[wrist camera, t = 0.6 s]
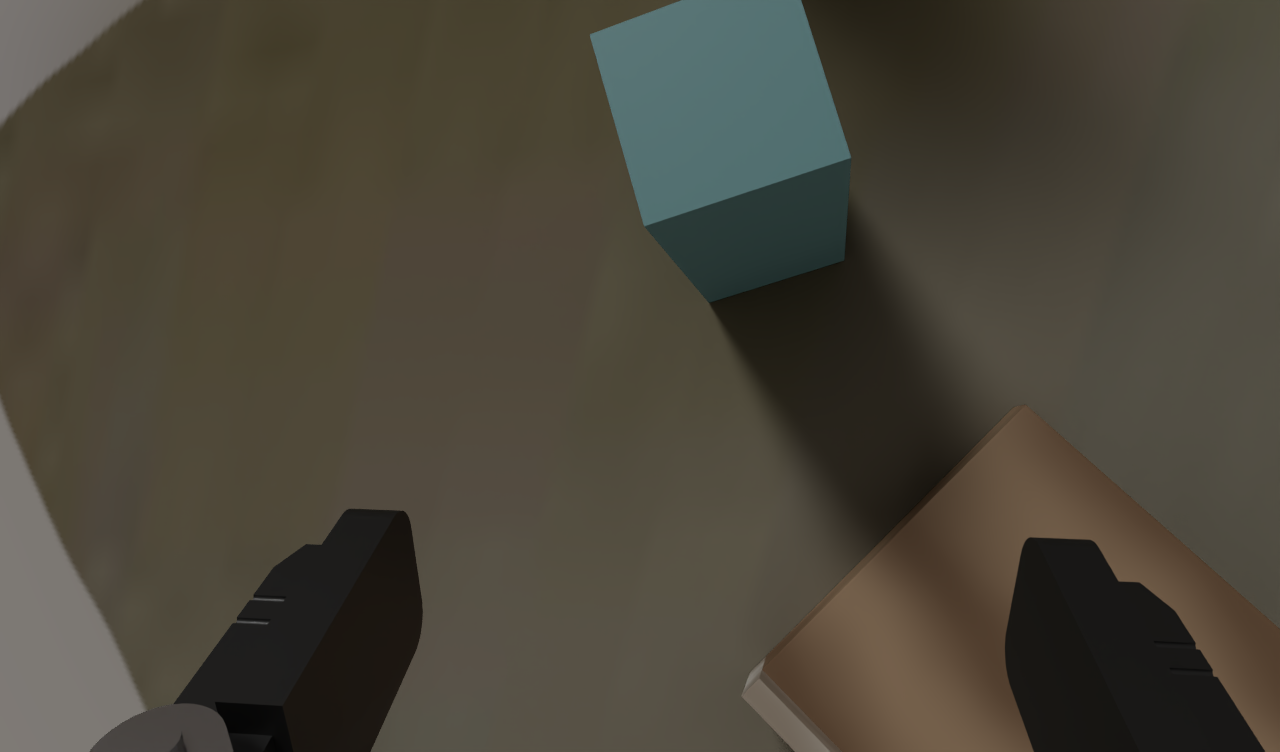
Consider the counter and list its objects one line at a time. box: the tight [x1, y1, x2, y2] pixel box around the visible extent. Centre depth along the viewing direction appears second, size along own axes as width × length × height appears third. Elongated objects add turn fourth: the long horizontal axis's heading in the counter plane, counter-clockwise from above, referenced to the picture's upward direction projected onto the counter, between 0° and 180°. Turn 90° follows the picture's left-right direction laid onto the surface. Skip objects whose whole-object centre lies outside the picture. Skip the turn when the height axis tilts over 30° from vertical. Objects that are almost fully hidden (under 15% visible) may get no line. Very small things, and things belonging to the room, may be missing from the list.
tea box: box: [590, 0, 851, 303], centre depth 28 cm, size 5×5×12 cm
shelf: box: [742, 405, 1280, 752], centre depth 29 cm, size 13×16×3 cm
